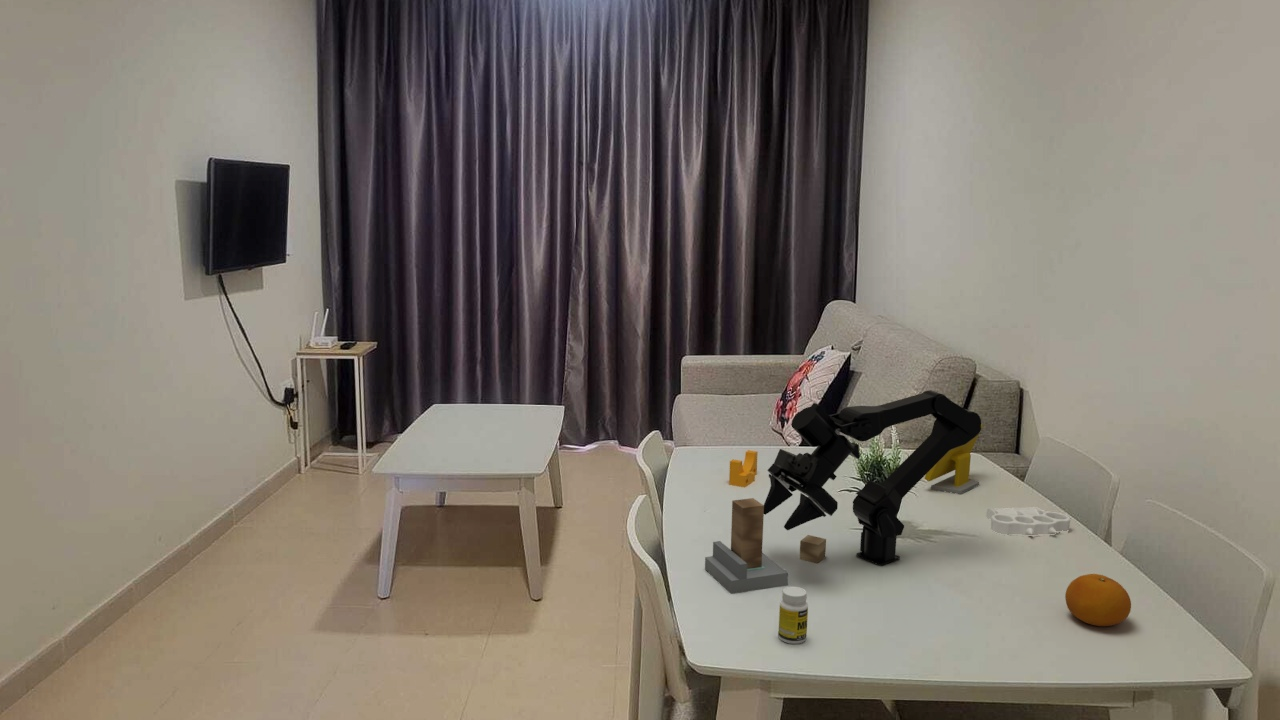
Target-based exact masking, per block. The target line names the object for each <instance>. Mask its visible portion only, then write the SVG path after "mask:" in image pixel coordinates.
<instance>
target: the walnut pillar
mask: <svg viewBox="0 0 1280 720" xmlns="http://www.w3.org/2000/svg"><path fill="white" fill-rule="evenodd" d="M731 508H732V509H731V529H730V530H731V532H730V534H731V535H730V550H731V551H733V552H734V553H735V554H736V555H737V556H739V557H740V558H741V559H742V560H743V561H745V562H746V563H747V569H751V568H758V567H762V552H763V542H764V541H763V538H764V536H763V535H764V518H765V517H764V515H765V514H764V504H763V503H761V502H760V501H758V500H757V499H756V498H754V497H752V498H744V499H743V498H741V499H734V500H732V502H731Z"/></svg>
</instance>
